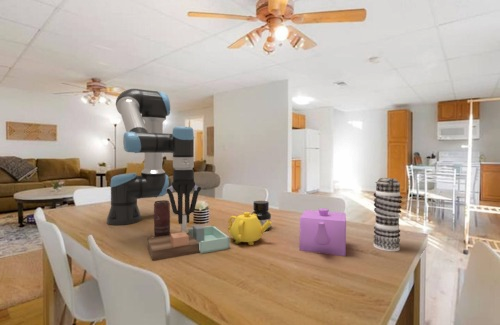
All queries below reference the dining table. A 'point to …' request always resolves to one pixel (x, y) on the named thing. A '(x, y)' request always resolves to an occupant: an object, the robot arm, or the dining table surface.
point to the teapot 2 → (323, 232)
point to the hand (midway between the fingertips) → (183, 231)
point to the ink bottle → (262, 212)
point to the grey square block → (198, 233)
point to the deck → (170, 247)
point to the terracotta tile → (179, 239)
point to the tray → (212, 240)
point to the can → (161, 218)
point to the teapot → (247, 228)
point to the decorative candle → (387, 214)
